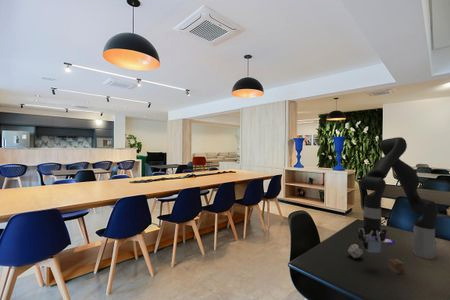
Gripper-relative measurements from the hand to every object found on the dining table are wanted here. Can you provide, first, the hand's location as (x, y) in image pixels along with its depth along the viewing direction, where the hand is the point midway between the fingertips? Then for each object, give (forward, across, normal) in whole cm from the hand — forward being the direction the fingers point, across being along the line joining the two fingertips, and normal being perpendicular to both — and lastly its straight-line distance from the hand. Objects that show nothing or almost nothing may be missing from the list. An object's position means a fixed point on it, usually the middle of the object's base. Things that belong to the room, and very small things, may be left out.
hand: (371, 248), depth 111 cm
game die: (+11, 0, -13) cm, 17 cm away
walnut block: (+11, -13, 0) cm, 17 cm away
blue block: (+1, 0, 0) cm, 1 cm away
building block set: (+12, -34, -42) cm, 55 cm away
